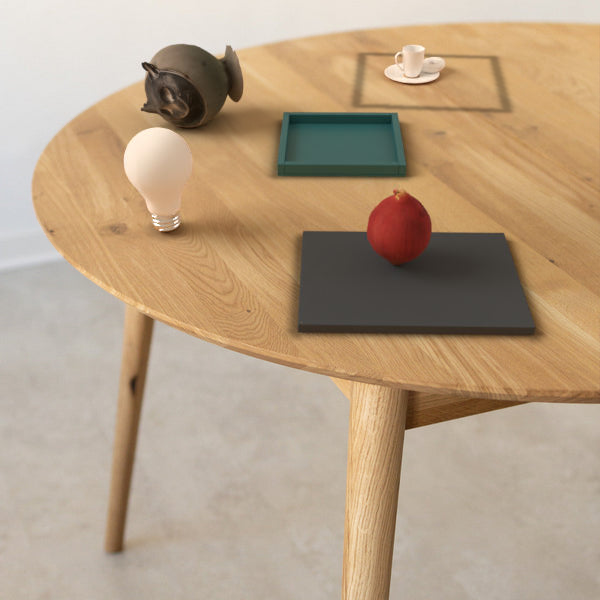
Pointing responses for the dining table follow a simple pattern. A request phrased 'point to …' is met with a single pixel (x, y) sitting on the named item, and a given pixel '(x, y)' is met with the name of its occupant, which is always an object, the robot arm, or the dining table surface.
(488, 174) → the dining table surface
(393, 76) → the teacup and saucer
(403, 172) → the tray
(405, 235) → the onion
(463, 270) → the mat
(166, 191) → the light bulb
